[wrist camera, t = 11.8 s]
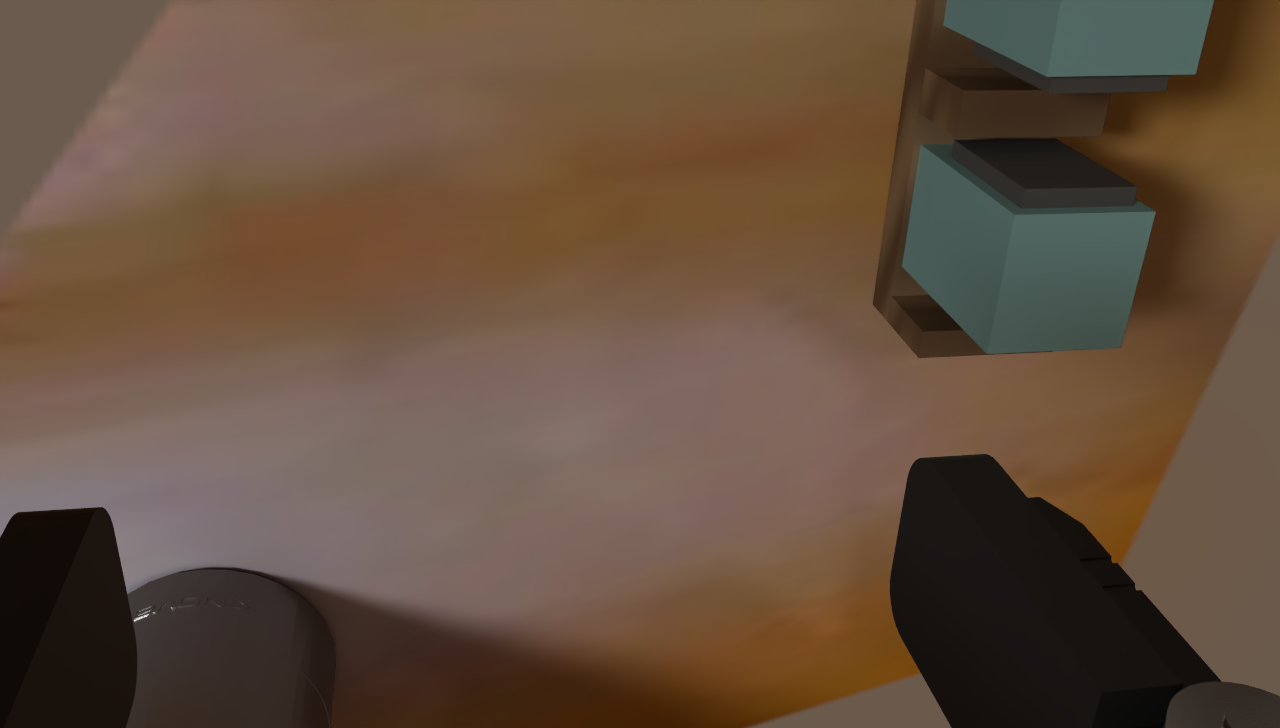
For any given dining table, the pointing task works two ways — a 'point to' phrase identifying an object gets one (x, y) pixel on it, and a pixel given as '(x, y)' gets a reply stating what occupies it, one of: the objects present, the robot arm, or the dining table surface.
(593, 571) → the dining table surface
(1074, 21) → the teal block
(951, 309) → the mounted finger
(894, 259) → the rail
